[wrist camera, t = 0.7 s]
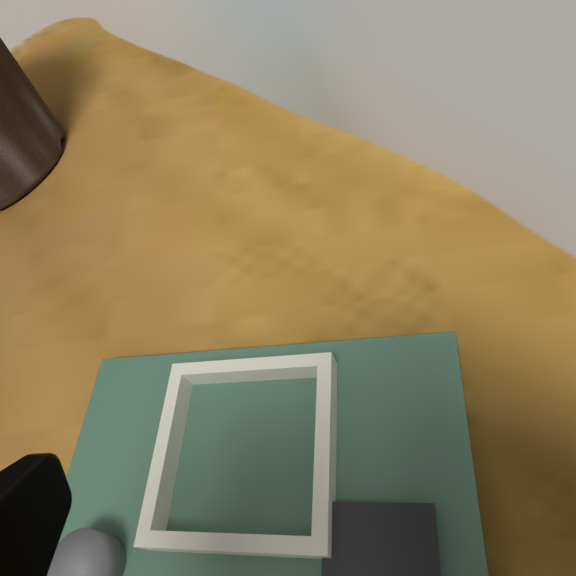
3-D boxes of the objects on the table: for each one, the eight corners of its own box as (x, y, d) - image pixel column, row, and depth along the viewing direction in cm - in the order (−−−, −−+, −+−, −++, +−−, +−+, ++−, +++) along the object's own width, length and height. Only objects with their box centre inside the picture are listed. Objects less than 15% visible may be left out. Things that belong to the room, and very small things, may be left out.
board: (502, 685, 15) (507, 696, 13) (37, 633, 20) (-12, 634, 18) (455, 341, 22) (454, 312, 20) (113, 367, 27) (83, 346, 25)
